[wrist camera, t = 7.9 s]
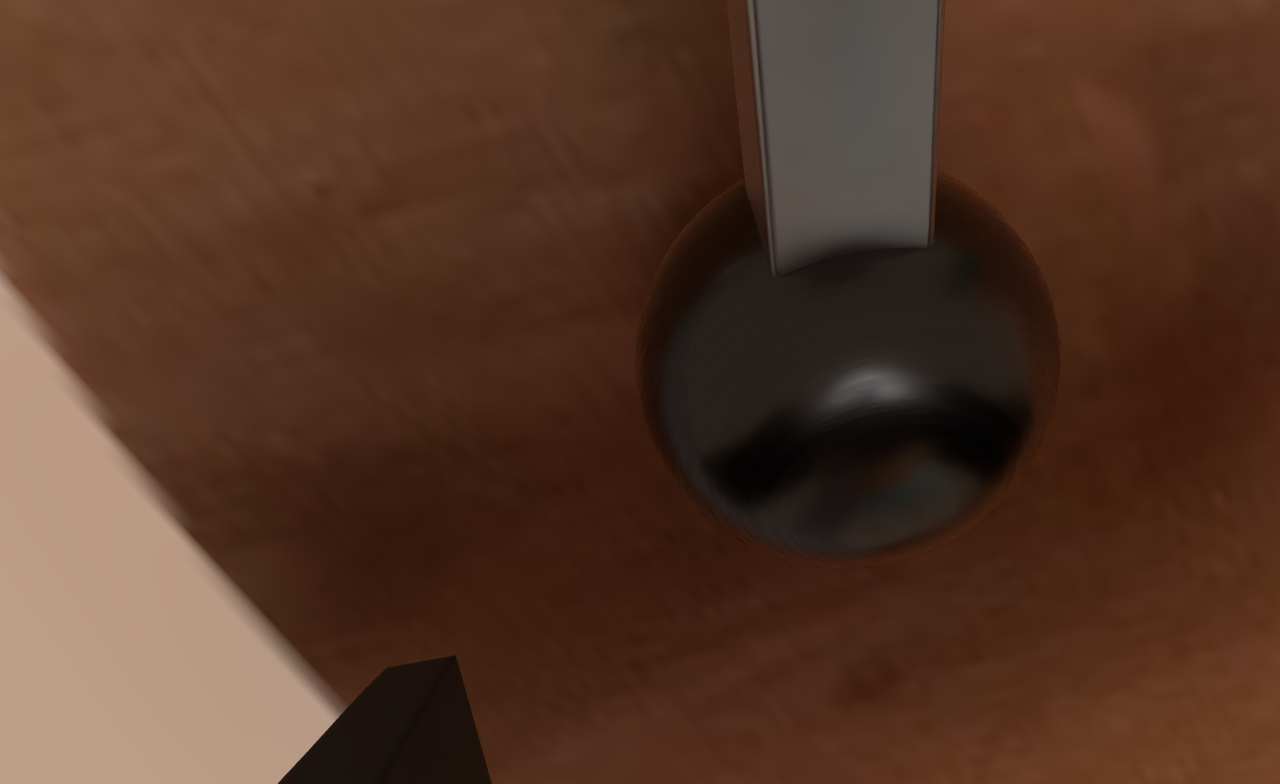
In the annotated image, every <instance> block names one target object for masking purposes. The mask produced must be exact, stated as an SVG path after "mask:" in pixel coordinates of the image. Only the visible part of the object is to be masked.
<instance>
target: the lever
mask: <svg viewBox="0 0 1280 784" xmlns="http://www.w3.org/2000/svg"><path fill="white" fill-rule="evenodd" d="M726 5H727V15H728V24H729V34H730V43H731V53H732V63H733V72H734V82H735V91H736V101H737V110H738V120H739V129H740V139H741V148H742V158H743V167H744V178H743V179H741V180H739V181H738V182H736V183H735V184H733V185H731V186H730V187H728V188H727V189H725V190H724V191H723V192H722V193H720V194H719V195H718V196H717V197H715V198H714V199H713V200H711V201H710V202H709V203H708V204H707V205H705V206H704V207H703V208H702V209H701V210H700V211H699V212H698V213H697V214H696V215H695V216H694V217H693V218H692V219H691V220H690V221H689V222H688V223H687V224H686V226H685V227H684V228H683V230H682V231H681V232H680V233H679V235H678V236H677V237H676V238H675V240H674V241H673V243H672V245H671V246H670V248H669V249H668V251H667V253H666V254H665V256H664V258H663V259H662V261H661V263H660V265H659V266H658V268H657V270H656V272H655V274H654V277H653V279H652V282H651V284H650V287H649V289H648V292H647V295H646V298H645V301H644V304H643V308H642V312H641V317H640V321H639V327H638V335H637V343H636V377H637V386H638V394H639V400H640V404H641V408H642V413H643V417H644V420H645V423H646V426H647V429H648V432H649V435H650V437H651V439H652V442H653V444H654V446H655V448H656V451H657V453H658V455H659V457H660V458H661V460H662V462H663V464H664V465H665V467H666V469H667V470H668V472H669V473H670V475H671V476H672V478H673V479H674V481H675V482H676V484H677V485H678V486H679V488H680V489H681V490H682V491H683V492H684V493H685V495H686V496H687V497H688V498H689V499H690V500H691V501H692V502H693V503H694V504H695V505H696V506H697V508H698V509H699V510H700V511H701V512H702V513H704V514H705V515H706V516H707V517H708V518H709V519H711V520H712V521H713V522H714V523H716V524H717V525H718V526H720V527H721V528H723V529H724V530H725V531H727V532H728V533H729V534H731V535H733V536H734V537H736V538H737V539H739V540H741V541H742V542H744V543H746V544H748V545H751V546H753V547H755V548H757V549H759V550H761V551H764V552H766V553H768V554H771V555H773V556H775V557H779V558H782V559H785V560H789V561H793V562H797V563H802V564H807V565H812V566H817V567H825V568H847V569H850V568H865V567H875V566H882V565H888V564H893V563H897V562H902V561H905V560H908V559H912V558H915V557H918V556H920V555H923V554H926V553H928V552H931V551H933V550H935V549H937V548H939V547H941V546H943V545H945V544H947V543H949V542H951V541H953V540H954V539H956V538H958V537H960V536H962V535H963V534H965V533H966V532H968V531H969V530H971V529H972V528H974V527H975V526H976V525H978V524H979V523H980V522H981V521H983V520H984V519H985V518H986V517H988V516H989V515H990V514H991V513H992V512H993V511H994V510H995V509H996V508H997V507H998V506H999V505H1000V504H1001V503H1002V502H1003V501H1004V500H1005V499H1006V498H1007V497H1008V496H1009V494H1010V493H1011V492H1012V491H1013V490H1014V488H1015V487H1016V486H1017V485H1018V483H1019V482H1020V481H1021V479H1022V477H1023V476H1024V474H1025V473H1026V471H1027V470H1028V468H1029V466H1030V465H1031V463H1032V461H1033V460H1034V458H1035V456H1036V455H1037V453H1038V451H1039V449H1040V447H1041V444H1042V442H1043V440H1044V438H1045V435H1046V432H1047V429H1048V427H1049V424H1050V421H1051V418H1052V414H1053V410H1054V407H1055V403H1056V397H1057V391H1058V384H1059V374H1060V341H1059V333H1058V325H1057V320H1056V315H1055V311H1054V307H1053V302H1052V299H1051V296H1050V293H1049V290H1048V288H1047V285H1046V282H1045V280H1044V278H1043V275H1042V273H1041V271H1040V268H1039V266H1038V264H1037V263H1036V261H1035V259H1034V257H1033V256H1032V254H1031V252H1030V251H1029V249H1028V247H1027V246H1026V244H1025V243H1024V242H1023V240H1022V239H1021V237H1020V236H1019V234H1018V233H1017V231H1016V230H1015V229H1014V228H1013V227H1012V226H1011V225H1010V223H1009V222H1008V221H1007V220H1006V219H1005V218H1004V217H1003V216H1002V215H1001V214H1000V213H999V212H998V211H997V210H996V209H995V208H994V207H993V206H992V205H991V204H990V203H989V202H988V201H986V200H985V199H984V198H983V197H981V196H980V195H979V194H978V193H976V192H975V191H974V190H972V189H971V188H969V187H968V186H966V185H964V184H963V183H961V182H960V181H958V180H956V179H955V178H953V177H951V176H949V175H947V174H945V173H944V172H942V171H940V170H938V169H937V164H938V144H939V123H940V102H941V81H942V60H943V39H944V18H945V0H726Z"/></svg>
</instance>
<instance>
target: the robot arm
mask: <svg viewBox="0 0 1280 784" xmlns="http://www.w3.org/2000/svg"><path fill="white" fill-rule="evenodd" d="M278 784H492V783H491V780H490V776H489V773H488V769H487V765H486V762H485V758H484V755H483V751H482V748H481V744H480V740H479V737H478V733H477V730H476V726H475V723H474V719H473V715H472V712H471V708H470V705H469V701H468V698H467V694H466V690H465V687H464V683H463V680H462V676H461V673H460V669H459V665H458V662H457V658H456V655H455V656H449V657H444V658H438V659H433V660H427V661H422V662H416V663H411V664H405V665H400V666H394V667H389V668H386V669H385V670H384V671H383V672H382V673H381V674H380V675H379V676H378V677H377V678H376V679H374V681H373V682H372V683H371V684H370V685H369V686H368V687H367V688H366V689H365V690H364V691H363V692H362V693H361V694H360V695H359V696H358V697H357V698H356V699H355V700H354V701H353V702H352V704H351V705H350V706H349V707H348V708H347V709H346V710H345V711H344V712H343V713H342V714H341V715H340V717H339V718H338V719H337V720H336V721H335V722H334V723H333V724H332V725H331V726H330V728H329V729H328V730H327V731H326V732H325V733H324V734H323V735H322V736H321V738H319V740H318V741H317V742H316V743H315V744H314V745H313V746H312V747H311V749H310V750H309V751H308V752H307V753H306V754H305V755H304V756H303V757H302V758H301V759H300V760H299V761H298V762H297V763H296V765H295V766H294V767H293V768H292V769H291V770H290V771H289V772H288V773H287V774H286V775H285V776H284V777H283V778H282V780H281V781H280V782H279V783H278Z"/></svg>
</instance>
